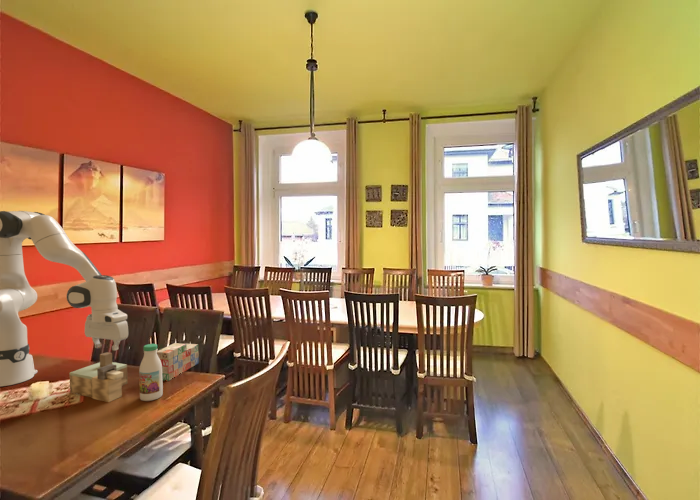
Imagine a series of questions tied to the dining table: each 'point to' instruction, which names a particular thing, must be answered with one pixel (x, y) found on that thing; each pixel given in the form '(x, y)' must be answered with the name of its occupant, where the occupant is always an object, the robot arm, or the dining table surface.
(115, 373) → the wooden block
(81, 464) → the dining table surface
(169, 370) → the stack of blocks
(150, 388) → the milk bottle
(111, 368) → the wooden cabinet
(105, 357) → the lid
